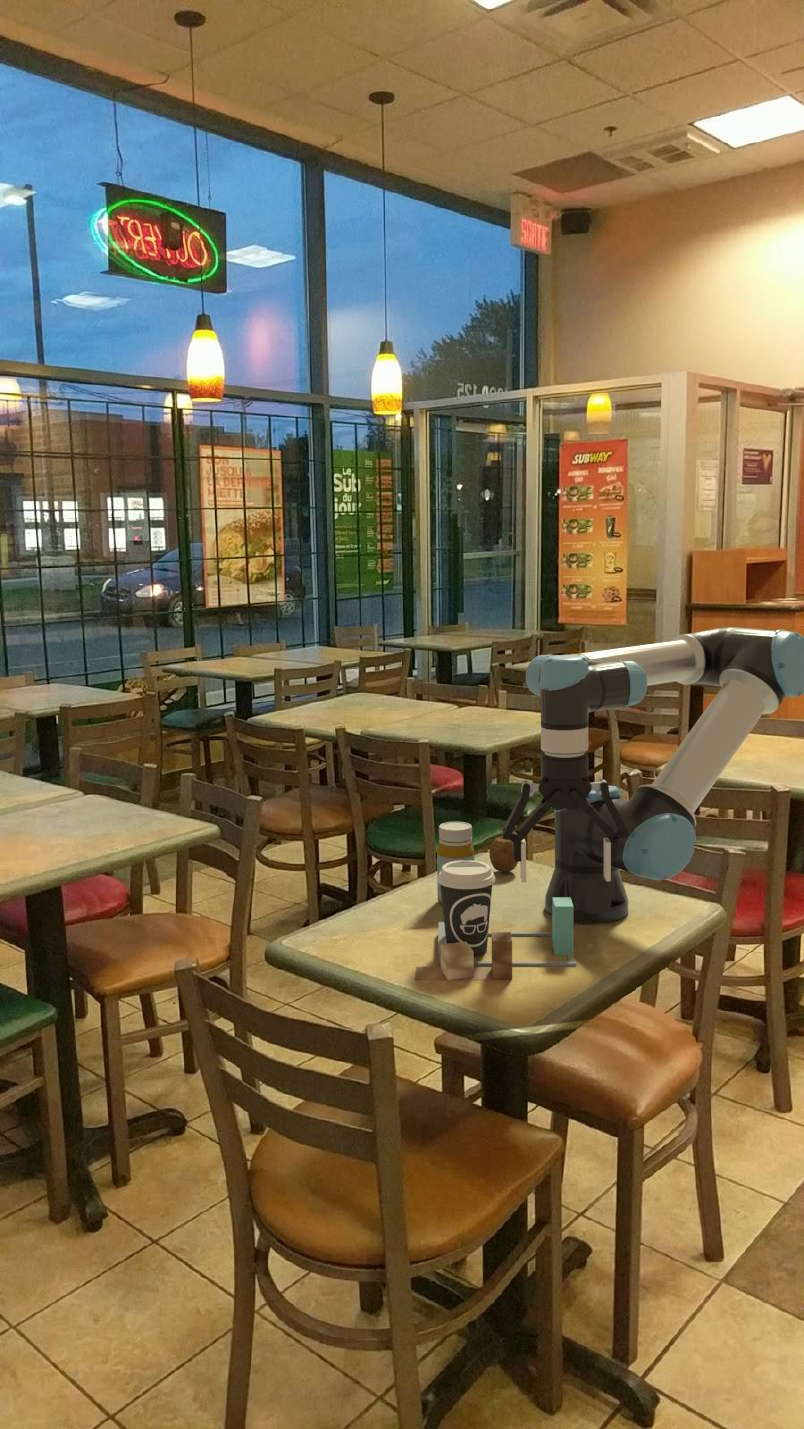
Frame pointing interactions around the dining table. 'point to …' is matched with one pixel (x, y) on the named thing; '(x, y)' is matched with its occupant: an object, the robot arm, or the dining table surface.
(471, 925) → the coffee cup
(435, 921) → the dining table surface
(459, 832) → the bottle
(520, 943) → the dining table surface
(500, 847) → the fruit
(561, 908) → the grey rectangular frame
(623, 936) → the dining table surface
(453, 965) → the maple block
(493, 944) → the wooden l-shaped block
